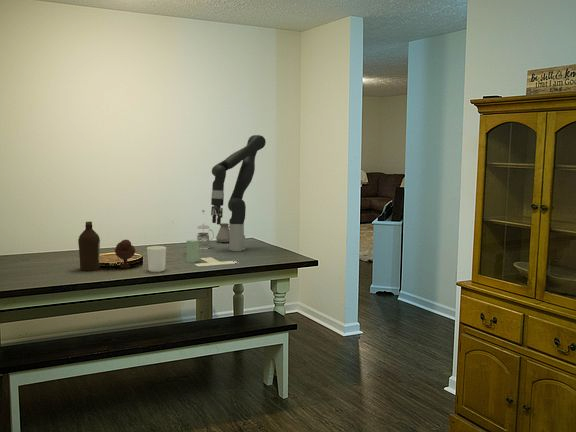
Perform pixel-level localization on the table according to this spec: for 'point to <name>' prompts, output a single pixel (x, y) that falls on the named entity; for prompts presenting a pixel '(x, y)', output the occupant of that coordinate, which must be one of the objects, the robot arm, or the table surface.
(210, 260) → the T mat
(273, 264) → the table surface
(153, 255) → the candle holder
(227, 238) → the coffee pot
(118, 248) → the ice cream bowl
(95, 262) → the olive oil
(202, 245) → the french press
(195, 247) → the green block
